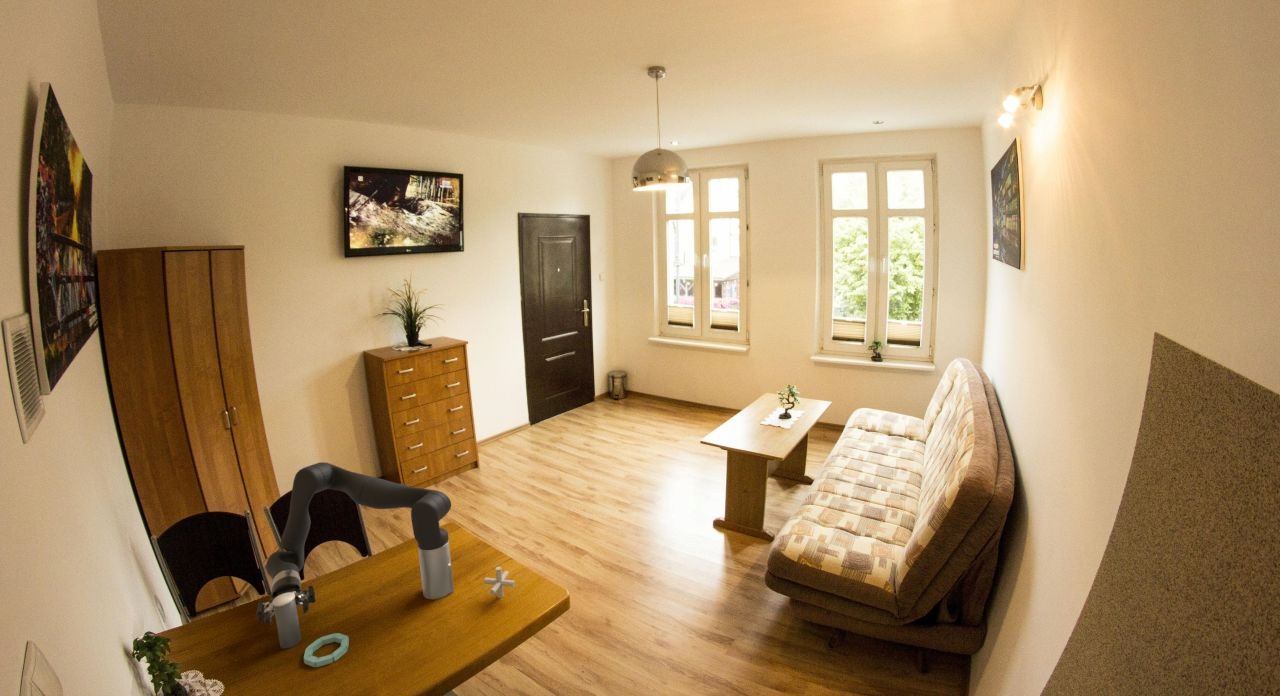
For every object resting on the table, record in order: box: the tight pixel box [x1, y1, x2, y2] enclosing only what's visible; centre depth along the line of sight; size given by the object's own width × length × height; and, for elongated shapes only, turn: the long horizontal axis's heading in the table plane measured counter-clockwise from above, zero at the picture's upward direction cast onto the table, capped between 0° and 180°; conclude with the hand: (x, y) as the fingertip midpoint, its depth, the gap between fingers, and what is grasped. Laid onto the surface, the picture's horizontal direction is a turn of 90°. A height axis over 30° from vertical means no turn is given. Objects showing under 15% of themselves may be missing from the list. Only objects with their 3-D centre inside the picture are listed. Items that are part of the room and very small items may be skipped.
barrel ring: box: [303, 632, 350, 668], centre depth 145 cm, size 10×10×2 cm
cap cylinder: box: [273, 592, 302, 650], centre depth 148 cm, size 5×5×14 cm
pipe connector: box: [483, 566, 516, 599], centre depth 167 cm, size 10×10×10 cm
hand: (287, 616), depth 149 cm, fingers open, 8 cm apart
